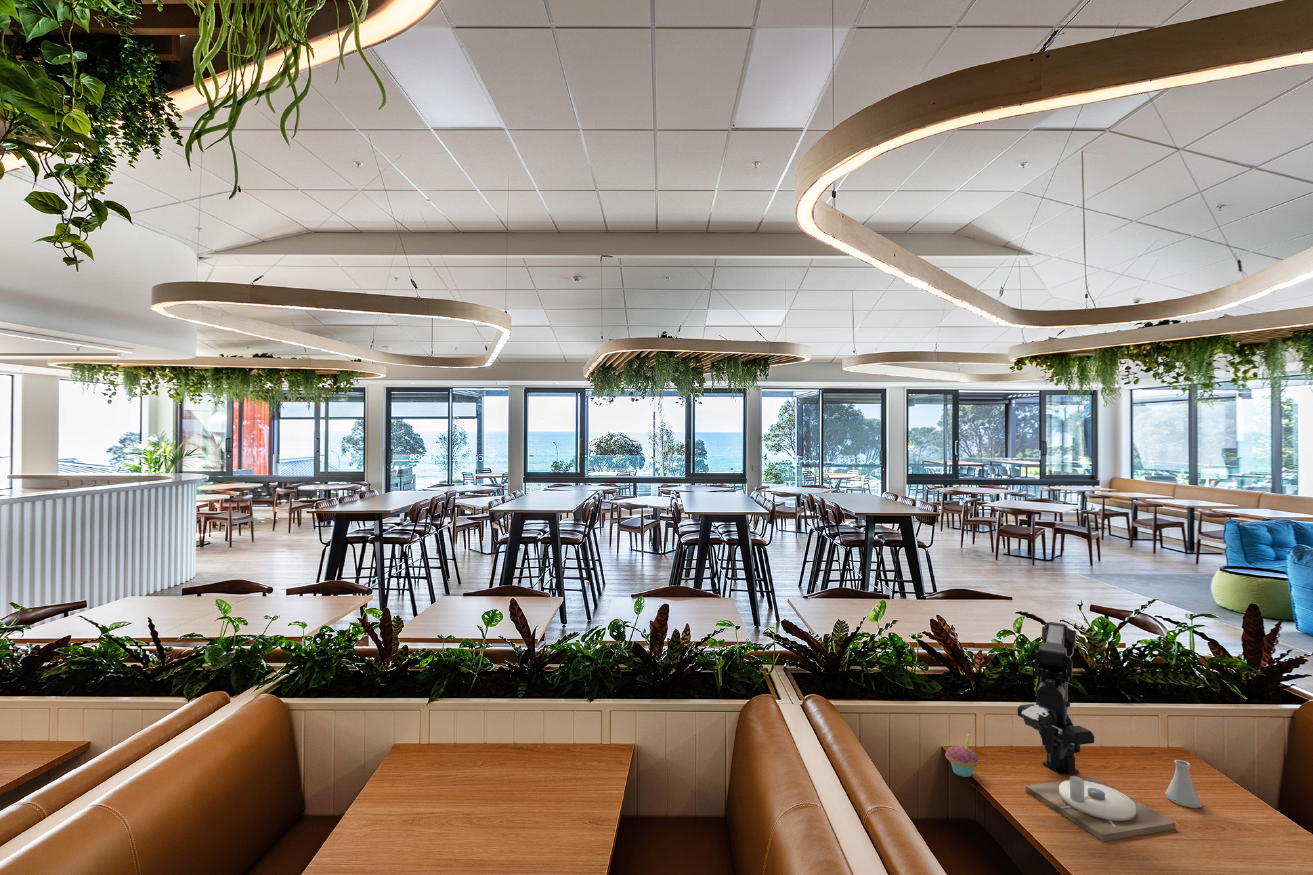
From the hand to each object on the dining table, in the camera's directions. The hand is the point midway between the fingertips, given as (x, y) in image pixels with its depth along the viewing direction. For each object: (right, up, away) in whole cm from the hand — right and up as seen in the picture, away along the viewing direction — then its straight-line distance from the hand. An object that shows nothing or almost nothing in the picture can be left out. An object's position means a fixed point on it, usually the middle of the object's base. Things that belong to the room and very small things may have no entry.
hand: (1054, 755), depth 160 cm
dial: (+7, -9, -5) cm, 13 cm away
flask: (+33, -11, -2) cm, 35 cm away
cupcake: (-18, -12, +12) cm, 25 cm away
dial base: (+7, -11, -5) cm, 14 cm away
